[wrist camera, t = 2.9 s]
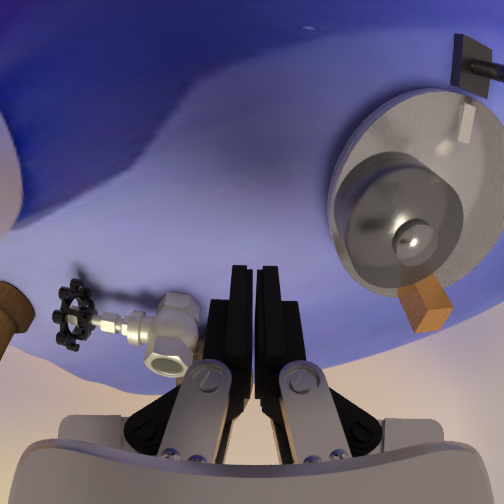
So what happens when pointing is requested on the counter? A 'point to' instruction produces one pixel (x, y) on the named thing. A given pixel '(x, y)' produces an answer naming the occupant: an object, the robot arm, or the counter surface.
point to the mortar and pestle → (13, 314)
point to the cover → (397, 219)
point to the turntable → (449, 169)
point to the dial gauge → (474, 66)
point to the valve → (135, 327)
